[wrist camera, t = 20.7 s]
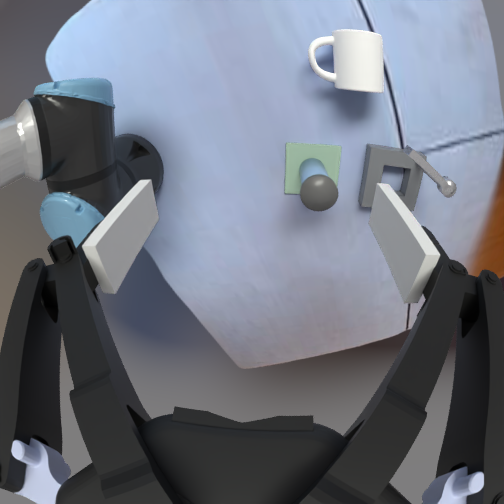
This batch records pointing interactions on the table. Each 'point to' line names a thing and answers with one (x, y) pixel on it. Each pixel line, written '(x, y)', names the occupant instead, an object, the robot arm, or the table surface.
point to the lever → (433, 173)
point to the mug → (352, 60)
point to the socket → (374, 169)
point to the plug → (316, 186)
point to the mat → (305, 151)
